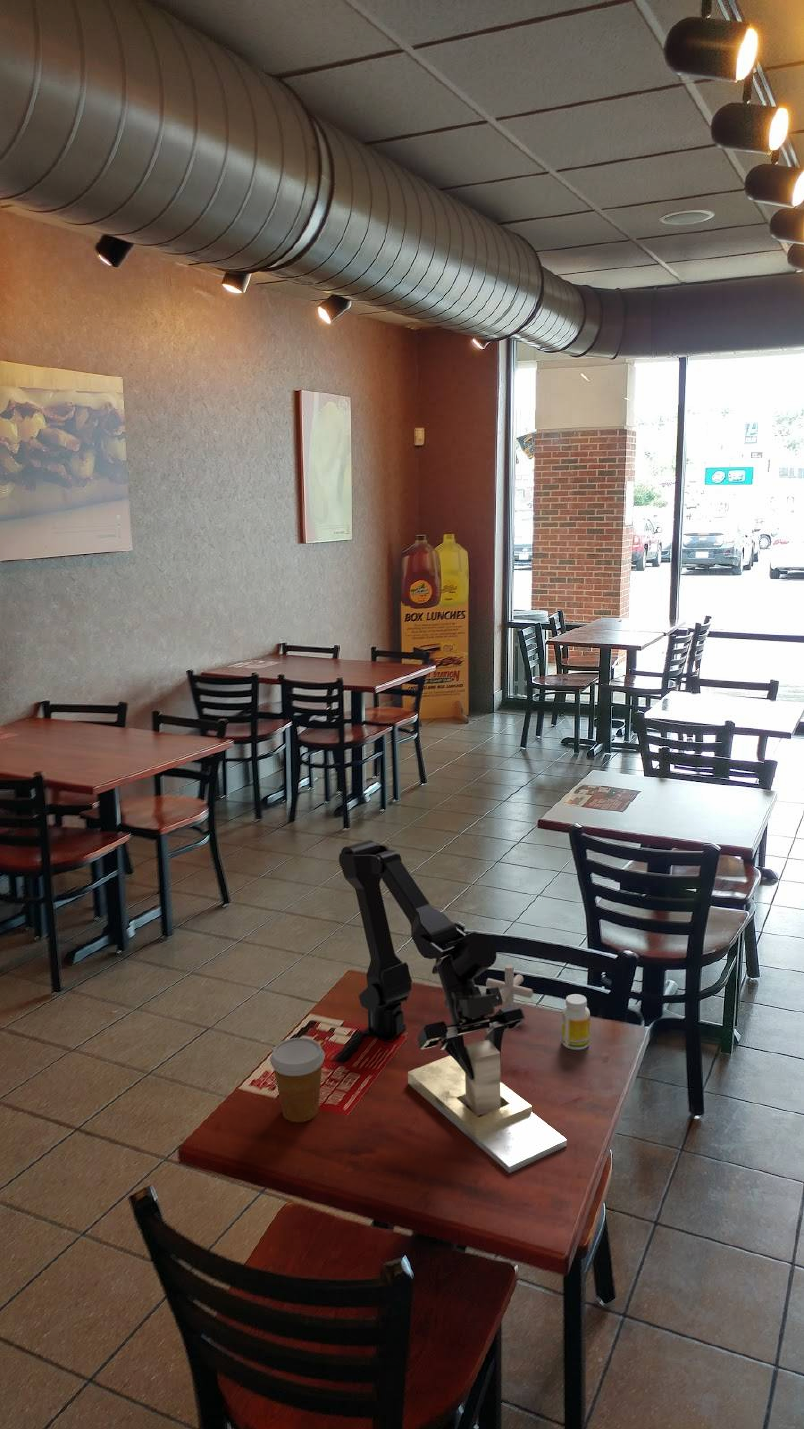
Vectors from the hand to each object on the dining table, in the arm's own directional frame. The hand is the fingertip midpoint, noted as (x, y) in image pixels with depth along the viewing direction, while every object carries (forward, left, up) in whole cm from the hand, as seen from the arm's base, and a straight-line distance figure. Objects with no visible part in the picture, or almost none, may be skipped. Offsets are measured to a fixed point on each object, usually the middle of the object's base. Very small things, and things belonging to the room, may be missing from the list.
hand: (485, 1076), depth 171 cm
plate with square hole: (-1, +1, -8) cm, 8 cm away
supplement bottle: (+4, +30, -8) cm, 31 cm away
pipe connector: (-13, +35, -8) cm, 38 cm away
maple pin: (-1, +1, -7) cm, 7 cm away
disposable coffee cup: (-29, -15, -8) cm, 34 cm away
